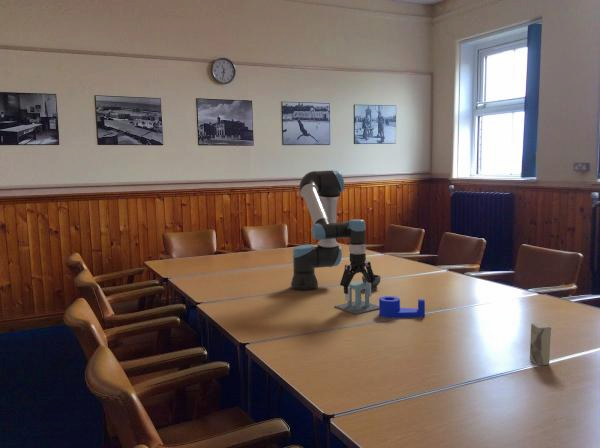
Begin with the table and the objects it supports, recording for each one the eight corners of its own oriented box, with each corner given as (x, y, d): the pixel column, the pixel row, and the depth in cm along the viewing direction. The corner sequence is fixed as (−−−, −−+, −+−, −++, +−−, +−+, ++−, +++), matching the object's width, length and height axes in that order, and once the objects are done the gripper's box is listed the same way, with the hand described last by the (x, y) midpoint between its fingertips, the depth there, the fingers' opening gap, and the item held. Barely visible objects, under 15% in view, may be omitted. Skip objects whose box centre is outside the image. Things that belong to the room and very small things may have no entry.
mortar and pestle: (382, 290, 276) (382, 268, 275) (365, 291, 275) (364, 269, 274) (376, 285, 287) (376, 264, 286) (360, 286, 286) (359, 265, 285)
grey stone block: (529, 360, 174) (530, 322, 173) (541, 359, 175) (542, 322, 173) (537, 366, 169) (538, 327, 168) (550, 365, 170) (551, 327, 168)
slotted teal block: (347, 306, 245) (347, 283, 244) (359, 303, 249) (359, 281, 248) (357, 309, 239) (357, 286, 238) (369, 306, 243) (369, 284, 242)
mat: (334, 307, 246) (334, 306, 246) (360, 301, 255) (360, 300, 255) (356, 314, 233) (356, 313, 233) (382, 308, 242) (382, 307, 242)
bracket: (379, 318, 227) (379, 301, 227) (379, 312, 236) (379, 296, 236) (425, 319, 224) (425, 301, 223) (423, 313, 233) (423, 296, 232)
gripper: (342, 257, 231) (342, 304, 234) (382, 250, 245) (383, 295, 247) (331, 254, 238) (332, 300, 240) (371, 249, 251) (372, 292, 253)
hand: (358, 298), depth 243 cm, fingers open, 12 cm apart
